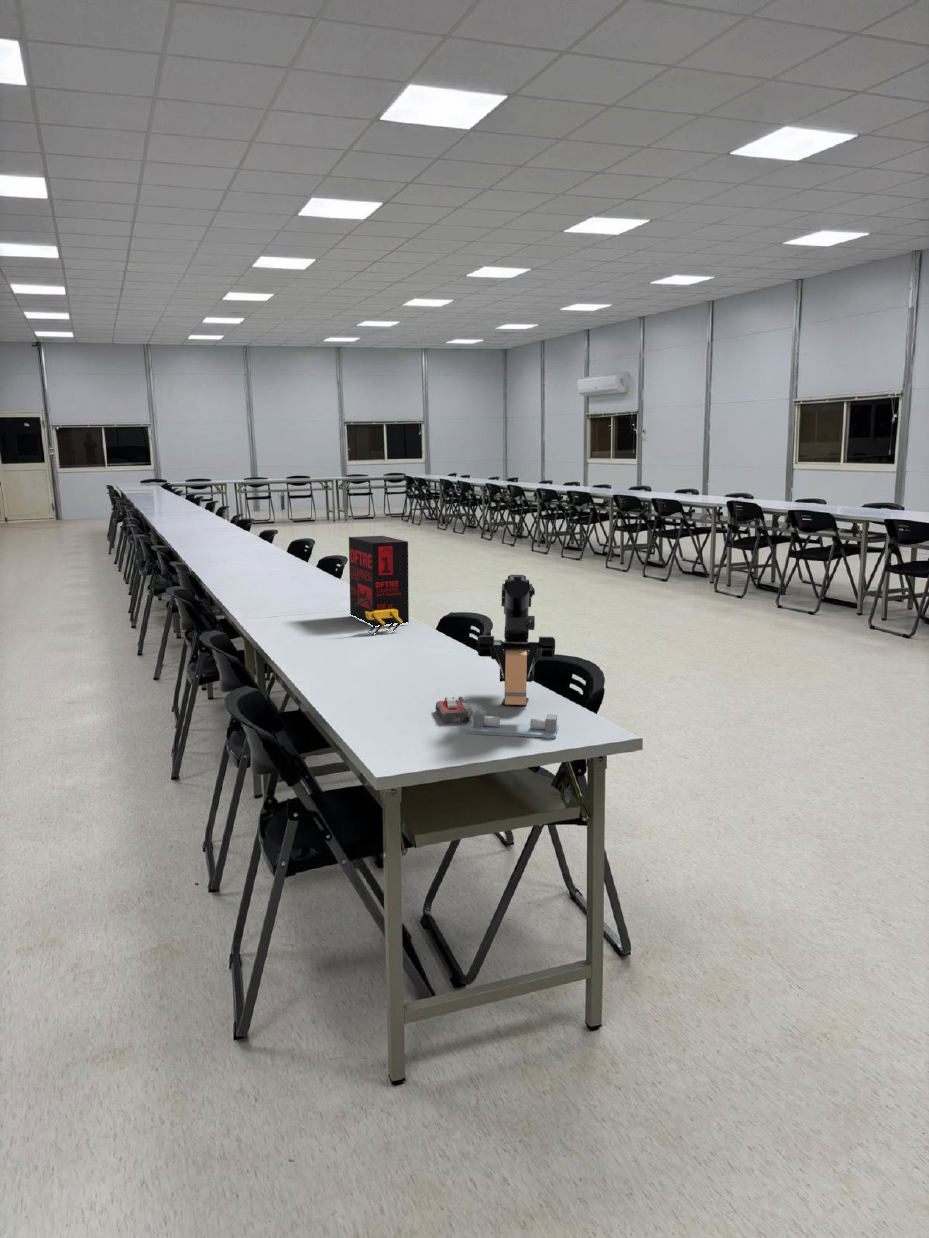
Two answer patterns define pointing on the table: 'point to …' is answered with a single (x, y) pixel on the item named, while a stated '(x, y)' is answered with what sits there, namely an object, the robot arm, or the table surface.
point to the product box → (378, 576)
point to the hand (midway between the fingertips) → (515, 676)
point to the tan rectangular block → (515, 677)
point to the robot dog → (380, 615)
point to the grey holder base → (514, 726)
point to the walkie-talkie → (453, 710)
